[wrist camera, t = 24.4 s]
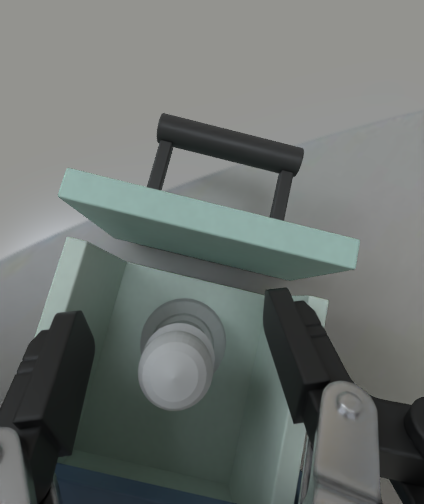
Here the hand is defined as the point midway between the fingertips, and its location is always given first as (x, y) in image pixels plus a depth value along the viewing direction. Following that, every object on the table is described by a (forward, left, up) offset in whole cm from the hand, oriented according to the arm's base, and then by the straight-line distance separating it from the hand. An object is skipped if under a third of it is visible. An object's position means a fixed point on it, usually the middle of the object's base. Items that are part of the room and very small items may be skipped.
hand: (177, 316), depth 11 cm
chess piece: (0, -2, -7) cm, 7 cm away
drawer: (0, 0, -8) cm, 8 cm away
